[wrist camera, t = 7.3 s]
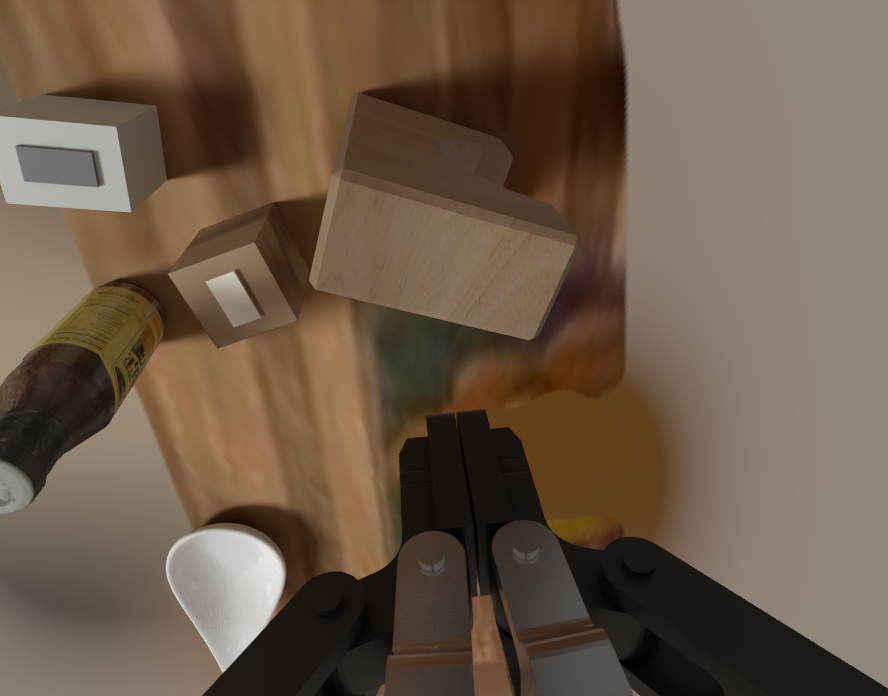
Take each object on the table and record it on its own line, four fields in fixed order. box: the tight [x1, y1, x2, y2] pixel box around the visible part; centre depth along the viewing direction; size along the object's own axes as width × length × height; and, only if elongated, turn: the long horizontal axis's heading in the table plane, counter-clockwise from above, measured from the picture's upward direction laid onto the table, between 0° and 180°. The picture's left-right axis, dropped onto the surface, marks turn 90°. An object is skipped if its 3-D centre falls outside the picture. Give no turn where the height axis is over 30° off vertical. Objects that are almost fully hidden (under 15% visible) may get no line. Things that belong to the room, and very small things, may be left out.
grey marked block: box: [0, 95, 167, 212], centre depth 36 cm, size 5×7×7 cm
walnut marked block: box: [168, 202, 310, 349], centre depth 41 cm, size 6×6×8 cm
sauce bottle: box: [0, 282, 165, 514], centre depth 38 cm, size 7×6×20 cm
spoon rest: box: [166, 523, 286, 673], centre depth 62 cm, size 24×12×7 cm, turn 0°
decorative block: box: [309, 93, 580, 340], centre depth 33 cm, size 11×6×20 cm, turn 71°
